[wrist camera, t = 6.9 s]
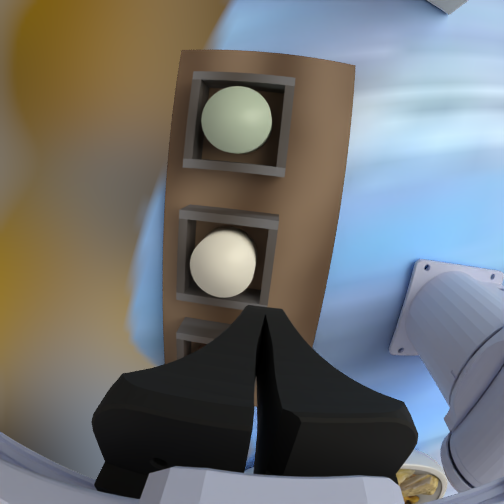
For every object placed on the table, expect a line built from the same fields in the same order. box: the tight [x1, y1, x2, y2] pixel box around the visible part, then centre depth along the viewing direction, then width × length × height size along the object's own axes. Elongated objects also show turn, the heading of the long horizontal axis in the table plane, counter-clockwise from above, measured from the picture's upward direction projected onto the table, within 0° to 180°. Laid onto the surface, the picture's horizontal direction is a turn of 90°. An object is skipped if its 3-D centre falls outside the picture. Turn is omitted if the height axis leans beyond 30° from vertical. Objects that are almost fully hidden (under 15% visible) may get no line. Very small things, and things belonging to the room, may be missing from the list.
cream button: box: [190, 226, 257, 298], centre depth 18 cm, size 4×4×2 cm
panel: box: [163, 50, 355, 407], centre depth 19 cm, size 11×26×3 cm, turn 174°
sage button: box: [201, 86, 272, 154], centre depth 16 cm, size 4×4×2 cm
